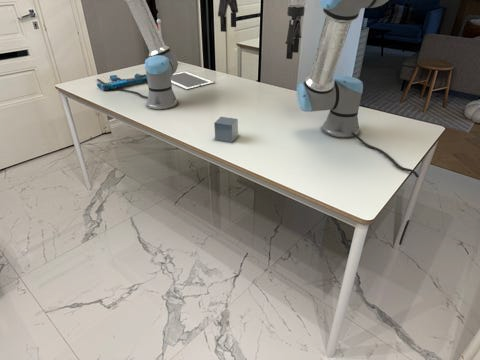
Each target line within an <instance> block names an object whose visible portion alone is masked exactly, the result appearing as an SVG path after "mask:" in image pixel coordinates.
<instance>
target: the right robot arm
mask: <svg viewBox="0 0 480 360" xmlns="http://www.w3.org/2000/svg"><path fill="white" fill-rule="evenodd" d="M287 1H288V2H287V5H288V7H287V11H286V12H287V13H286V14H287V16H288V17H291V19H289V21H288V30H287V35H286V41H285V45H286V57H285V59H286V60H293V54H294V53H295V54H298V53H299V49H300V48H299V47H300V39H302V34H301V33H302V32H301V31H302V29H301V25H302V24H301V22H302V21H301V20H302V17H304V16H305V9H306V7H305V6H306V0H287ZM319 2H320V6H321V8H322V12H323V14H324V15H325V19H324V22H323V26H322V30H321V34H320V37H319V41H318V44H317V48H316V52H315V56H314V59H313V63H312V68H311V71H310V73H308V74H307V75H306V76H305V78H304V82H303V81H301V82H299V83H298V84H297V88H296V97H297V102H298V106H299V108H300V109H301V111H303V112H311V113H312V112H320V111H321V112H323V111H329V112H328V115H327V117H326V120H325V121H324V123H323V126H322V130H323V132H324V133H325V134H326V135H329V136H332V137H335V138H339V139H341V138H342V139H349V138H354V137H355V138H356V139H357V140H358V141H360V143H362V144H363V145H364V146H366V147H368V148H370V149H372V150H375V151H377V152H379V153H381V154H383V155H384V156H385V157H387V159H388V160H390V161H391V162H392V164H394V166H396V167H397V168H398V169H400V170H401V171H405V172H410V173H411V174H413V175H415V177H416V178H420V176H419V174H418V173H417V172H416V170H414V169H412V168H408V167H403V166H401V165H399V163H398V162H397V161H396V160H395V159H394V158H392V157H391V156H390V155H389V154H388V153H387V152H385V151H384V150H383V149H381V148H379V147H376V146H373V145H370V144H368V143H367V142H365V141H364V140H363V139H362V138H361V137H360V136H359V132H360V125H359V118H358V117H359V116H358V114H359V111H360V110H359V109H360V105H361V100H362V95H363V90H364V83H363V81H362V80H360V79H359V78H356V77H353V76H349V75H340V74H339V75H336V76H335V77H334V75H335V72H336V69H337V67H338V63H339V60H340V57H341V55H342V52H343V48H344V46H345V42H346V39H347V36H348V33H349V30H350V27H351V24H352V22H354V21H356V20H357V19H358V18H359V15H360V12H361V10H362V9H373V8H379V7H381V6H383V5H385V4H386V3H387V2H389V0H319ZM410 222H411V219H408V220H406V223H405V225H404V227H403V230H402V232H401V236H400V239H399V242H398V244H399V245H400V246H402V243H403V240H404V237H405V235H406V233H407V229H408V226H409V224H410Z"/></svg>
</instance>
